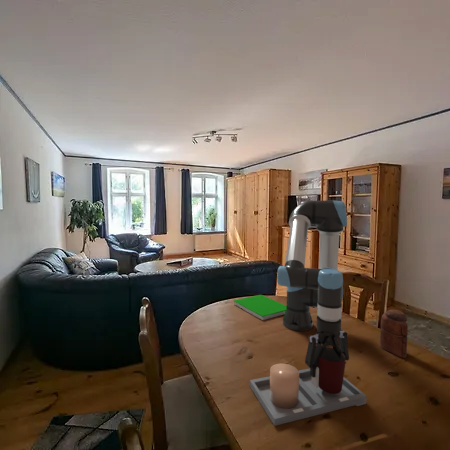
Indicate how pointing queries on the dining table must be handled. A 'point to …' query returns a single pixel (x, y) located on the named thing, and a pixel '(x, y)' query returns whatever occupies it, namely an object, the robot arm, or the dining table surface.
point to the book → (261, 306)
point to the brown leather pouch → (394, 333)
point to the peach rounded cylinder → (284, 386)
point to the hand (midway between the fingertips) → (326, 382)
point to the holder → (306, 399)
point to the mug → (331, 371)
